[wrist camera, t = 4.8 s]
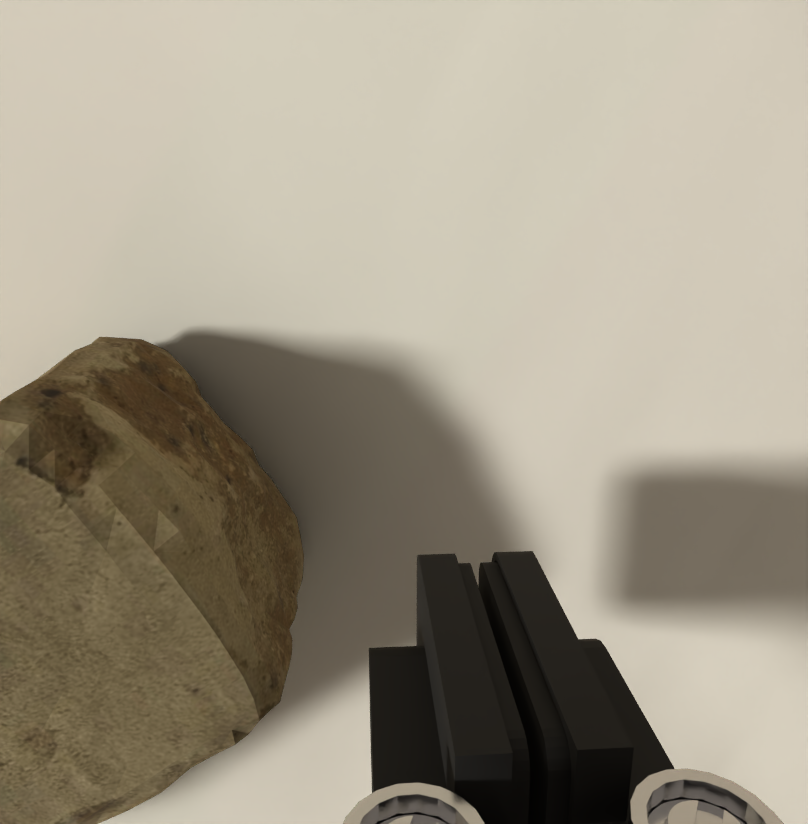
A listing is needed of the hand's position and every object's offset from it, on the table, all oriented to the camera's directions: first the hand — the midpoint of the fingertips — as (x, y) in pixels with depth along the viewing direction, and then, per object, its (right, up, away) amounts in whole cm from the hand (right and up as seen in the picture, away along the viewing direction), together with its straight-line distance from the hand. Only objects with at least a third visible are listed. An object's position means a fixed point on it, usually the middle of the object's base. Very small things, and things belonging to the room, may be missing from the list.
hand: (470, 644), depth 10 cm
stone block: (-9, 0, +4) cm, 9 cm away
